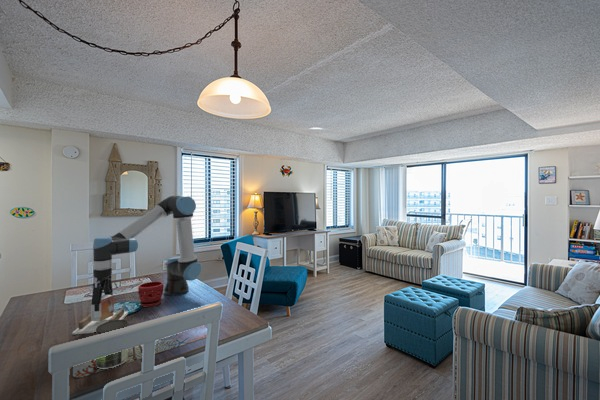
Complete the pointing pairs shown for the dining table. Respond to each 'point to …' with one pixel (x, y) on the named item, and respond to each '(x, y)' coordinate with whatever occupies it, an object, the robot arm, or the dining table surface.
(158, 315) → the dining table surface
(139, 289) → the plant pot
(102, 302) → the small box
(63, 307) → the dining table surface
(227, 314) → the dining table surface
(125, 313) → the holder
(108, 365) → the coffee can
